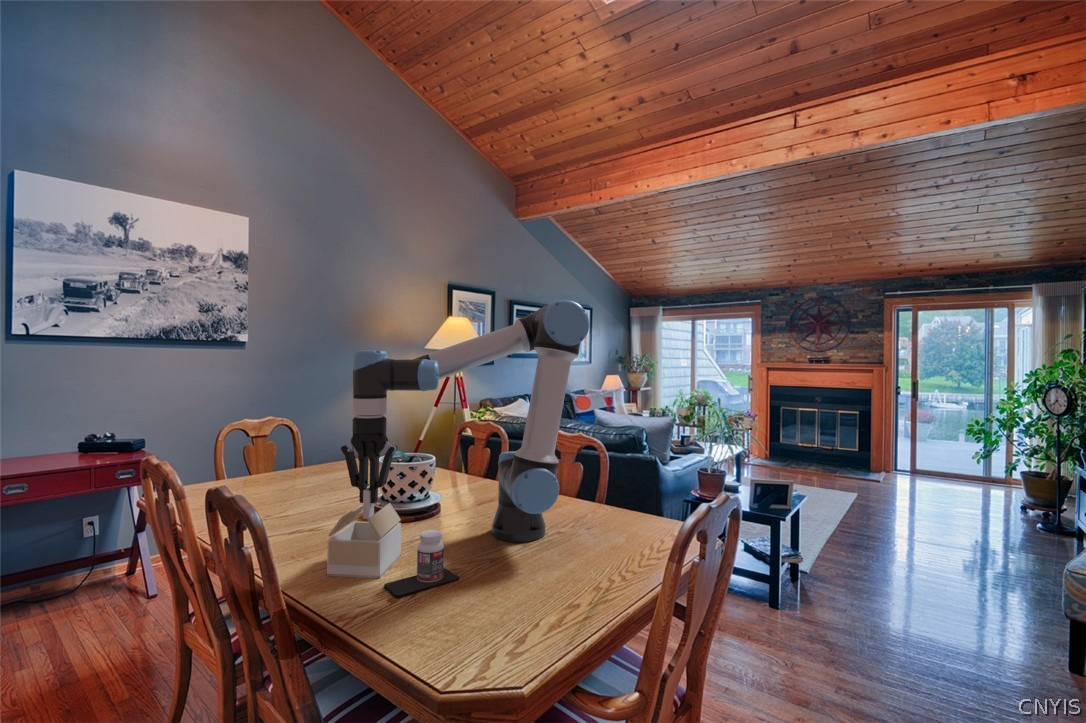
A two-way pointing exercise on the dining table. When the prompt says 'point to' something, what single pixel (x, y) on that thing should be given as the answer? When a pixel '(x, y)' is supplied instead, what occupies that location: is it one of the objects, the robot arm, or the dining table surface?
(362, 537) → the carton
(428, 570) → the pill bottle
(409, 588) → the smartphone
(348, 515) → the flap
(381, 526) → the flap
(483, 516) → the dining table surface
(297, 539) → the dining table surface
